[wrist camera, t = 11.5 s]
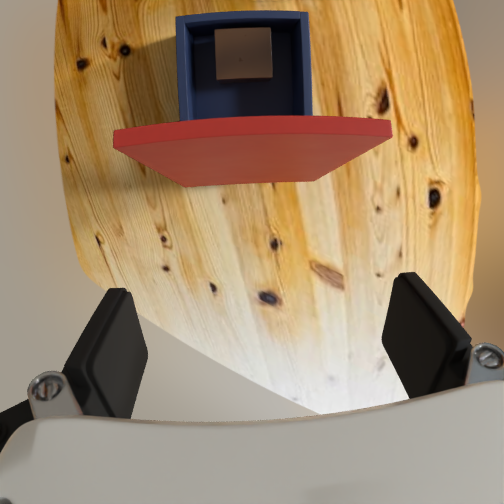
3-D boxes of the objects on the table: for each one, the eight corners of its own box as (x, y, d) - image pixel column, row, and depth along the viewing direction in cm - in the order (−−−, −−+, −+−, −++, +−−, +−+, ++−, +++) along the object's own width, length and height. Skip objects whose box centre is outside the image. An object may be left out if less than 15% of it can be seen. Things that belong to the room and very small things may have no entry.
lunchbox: (187, 32, 28) (175, 16, 22) (295, 28, 28) (308, 11, 22) (194, 168, 35) (184, 181, 29) (299, 163, 35) (312, 176, 29)
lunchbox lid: (112, 130, 12) (112, 148, 12) (391, 119, 12) (393, 137, 12) (184, 178, 28) (184, 187, 28) (313, 172, 28) (314, 181, 28)
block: (217, 40, 28) (214, 29, 23) (266, 38, 28) (270, 27, 24) (219, 84, 30) (216, 79, 26) (268, 82, 30) (272, 77, 26)
